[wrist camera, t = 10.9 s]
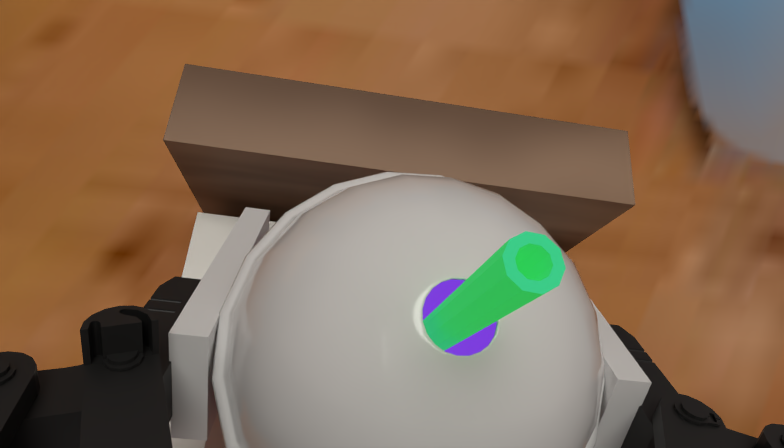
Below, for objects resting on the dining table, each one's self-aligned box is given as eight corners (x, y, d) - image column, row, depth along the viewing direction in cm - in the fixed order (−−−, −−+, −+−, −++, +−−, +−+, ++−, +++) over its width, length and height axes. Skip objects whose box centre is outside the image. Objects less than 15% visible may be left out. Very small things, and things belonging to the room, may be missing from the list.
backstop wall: (526, 278, 27) (635, 204, 18) (219, 241, 25) (163, 139, 16) (525, 226, 28) (627, 131, 19) (231, 187, 27) (185, 63, 17)
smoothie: (385, 531, 21) (803, 1212, 3) (231, 411, 22) (-182, 364, 4) (483, 365, 25) (988, 197, 6) (345, 265, 25) (417, -148, 7)
